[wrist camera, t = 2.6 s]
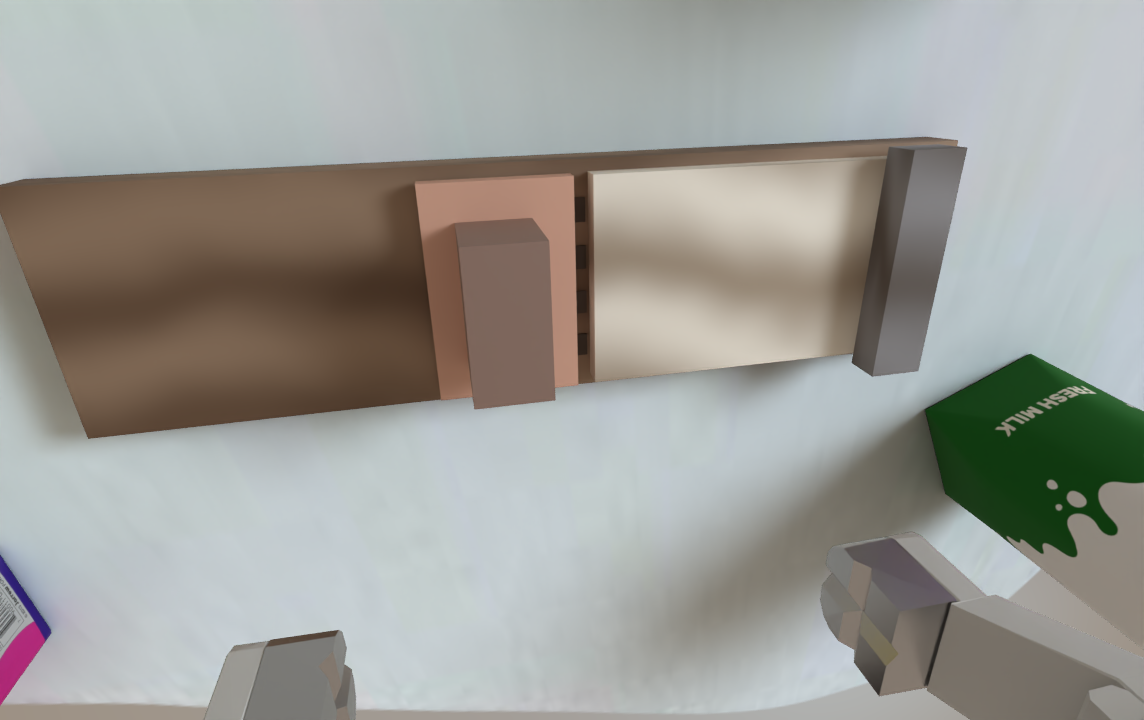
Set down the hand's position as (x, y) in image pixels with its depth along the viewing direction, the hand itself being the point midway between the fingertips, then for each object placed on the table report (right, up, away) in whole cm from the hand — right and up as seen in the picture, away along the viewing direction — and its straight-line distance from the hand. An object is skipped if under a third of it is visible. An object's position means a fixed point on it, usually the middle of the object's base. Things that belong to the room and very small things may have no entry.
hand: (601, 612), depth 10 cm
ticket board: (-2, +8, +18) cm, 20 cm away
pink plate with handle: (-3, +7, +16) cm, 18 cm away
